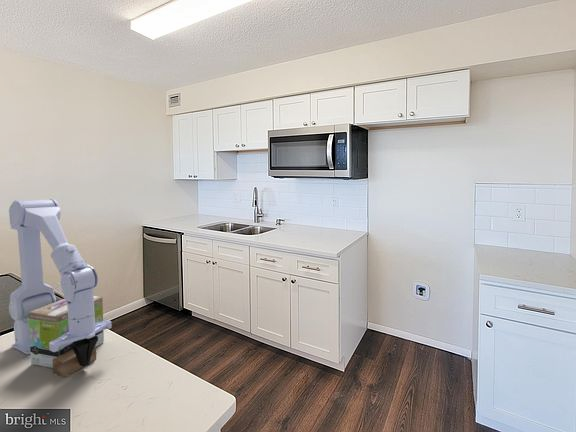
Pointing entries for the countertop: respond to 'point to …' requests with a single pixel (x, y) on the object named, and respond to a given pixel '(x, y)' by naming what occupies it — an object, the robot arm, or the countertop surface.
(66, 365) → the walnut bar
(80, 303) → the robot arm
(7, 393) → the countertop surface
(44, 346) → the tea box
